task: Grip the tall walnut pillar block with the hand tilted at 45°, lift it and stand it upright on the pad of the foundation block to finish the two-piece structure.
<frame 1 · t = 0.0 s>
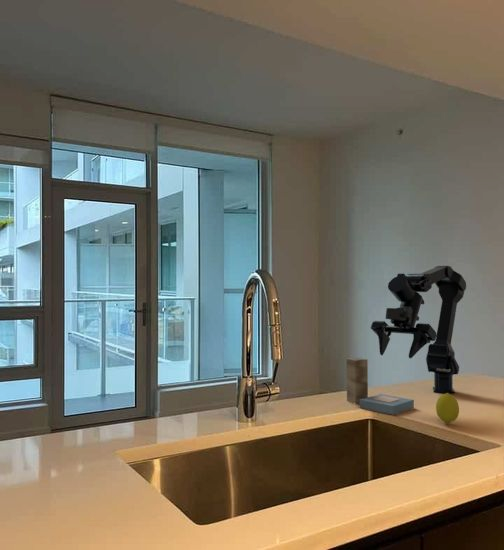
hand: (395, 356, 150), 15 cm above the worktop, fingers open, 9 cm apart
foundation: (386, 408, 150), on the worktop
lemon: (447, 425, 132), on the worktop
pillar: (357, 401, 158), on the worktop
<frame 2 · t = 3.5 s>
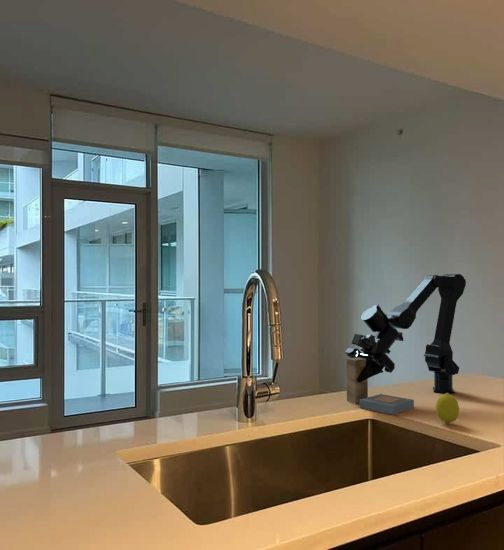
hand: (353, 380, 158), 7 cm above the worktop, fingers closed on pillar, 4 cm apart
pillar: (357, 401, 158), on the worktop, touching gripper
everything else where it was.
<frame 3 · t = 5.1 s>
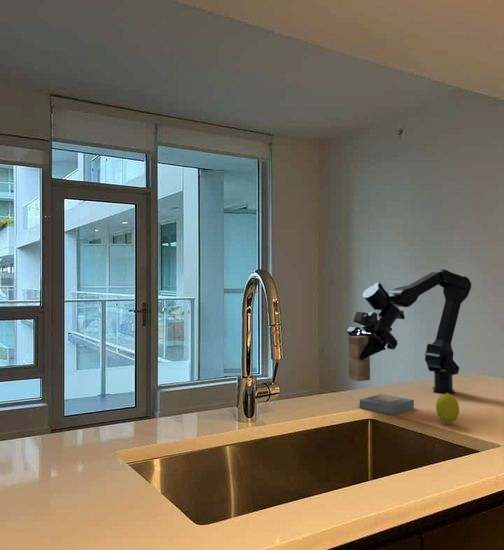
hand: (355, 358, 157), 13 cm above the worktop, fingers closed on pillar, 4 cm apart
pillar: (359, 379, 157), point 7 cm above the worktop, touching gripper
everything else where it was.
when the fingers open (10 cm above the worktop, at t = 7.0 s): pillar drops 1 cm, resting on foundation.
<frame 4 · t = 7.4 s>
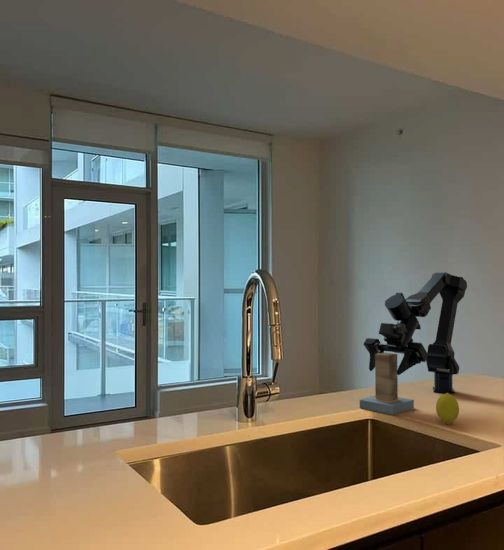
hand: (383, 372, 149), 11 cm above the worktop, fingers open, 9 cm apart
pillar: (386, 399, 150), point 3 cm above the worktop, touching foundation
everything else where it was.
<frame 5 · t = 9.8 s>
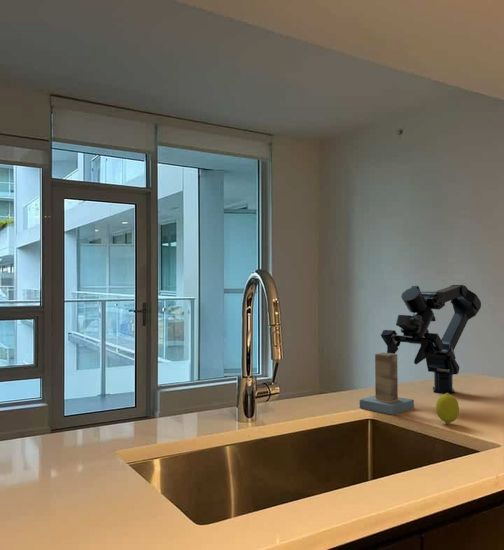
hand: (401, 361, 155), 13 cm above the worktop, fingers open, 9 cm apart
nothing on the worktop moved.
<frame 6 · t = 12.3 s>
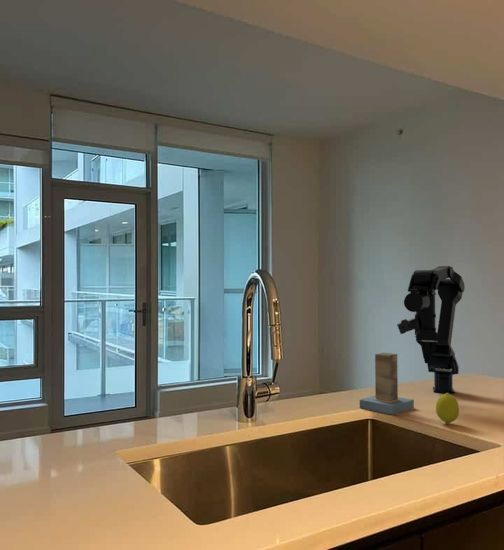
hand: (426, 361, 159), 12 cm above the worktop, fingers open, 9 cm apart
nothing on the worktop moved.
at the end: pillar 0.0 cm off-centre on the foundation, point 2.6 cm above the foundation's base; pillar tilted 0°; the gripper is holding nothing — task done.
